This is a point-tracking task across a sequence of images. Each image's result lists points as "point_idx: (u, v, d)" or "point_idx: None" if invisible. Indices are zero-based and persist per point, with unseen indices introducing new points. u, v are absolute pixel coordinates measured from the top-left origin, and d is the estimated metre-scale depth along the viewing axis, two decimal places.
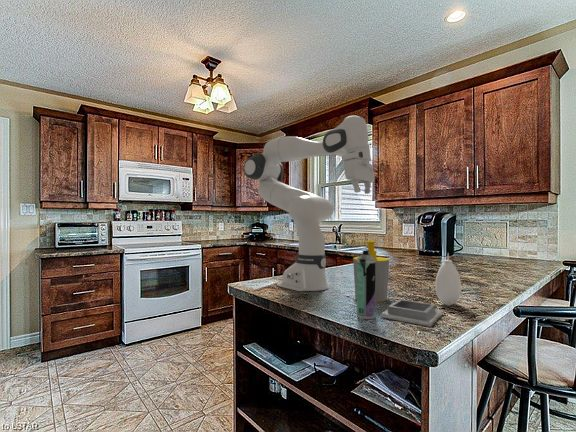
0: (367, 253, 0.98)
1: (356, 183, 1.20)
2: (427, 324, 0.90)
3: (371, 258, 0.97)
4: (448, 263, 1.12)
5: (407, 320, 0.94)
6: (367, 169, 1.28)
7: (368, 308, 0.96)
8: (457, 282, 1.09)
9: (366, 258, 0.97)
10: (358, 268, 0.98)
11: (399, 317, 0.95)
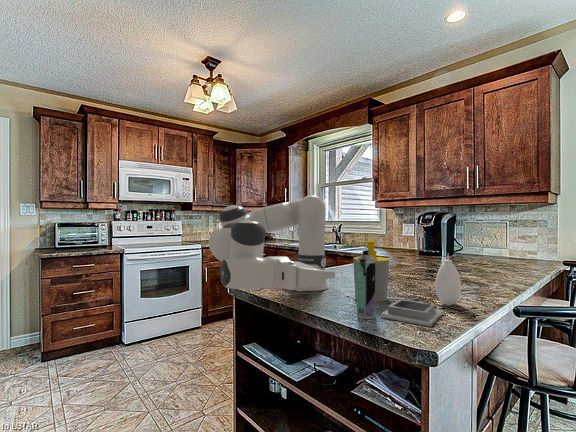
0: (367, 253, 0.98)
1: (325, 273, 0.88)
2: (427, 324, 0.90)
3: (371, 258, 0.97)
4: (448, 263, 1.12)
5: (407, 320, 0.94)
6: None
7: (368, 308, 0.96)
8: (457, 282, 1.09)
9: (366, 258, 0.97)
10: (358, 268, 0.98)
11: (399, 317, 0.95)
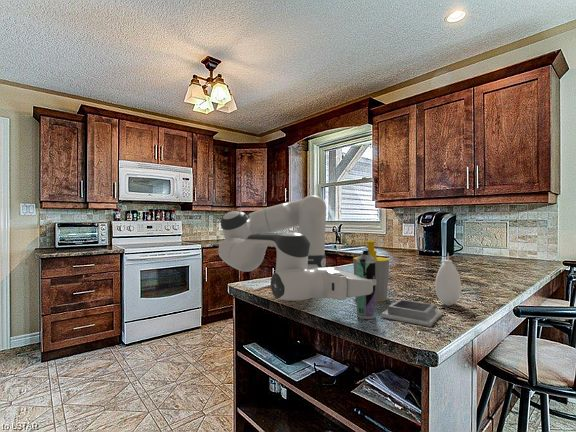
0: (367, 253, 0.98)
1: None
2: (427, 324, 0.90)
3: (371, 258, 0.97)
4: (448, 263, 1.12)
5: (407, 320, 0.94)
6: None
7: (368, 308, 0.96)
8: (457, 282, 1.09)
9: (366, 258, 0.97)
10: (358, 268, 0.98)
11: (399, 317, 0.95)
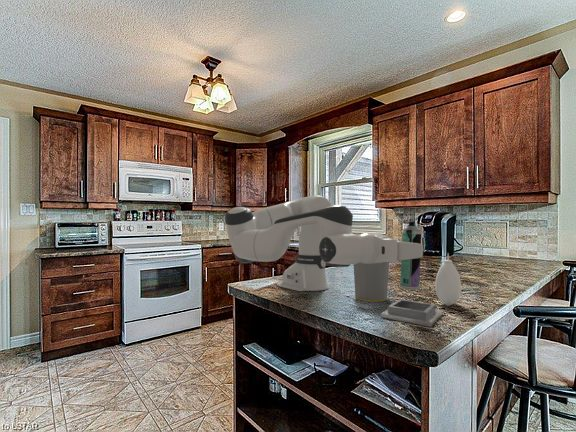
0: (413, 224, 0.99)
1: None
2: (427, 324, 0.90)
3: (417, 229, 0.98)
4: (448, 263, 1.12)
5: (407, 320, 0.94)
6: None
7: (413, 279, 0.97)
8: (457, 282, 1.09)
9: (412, 229, 0.98)
10: (404, 239, 0.99)
11: (399, 317, 0.95)
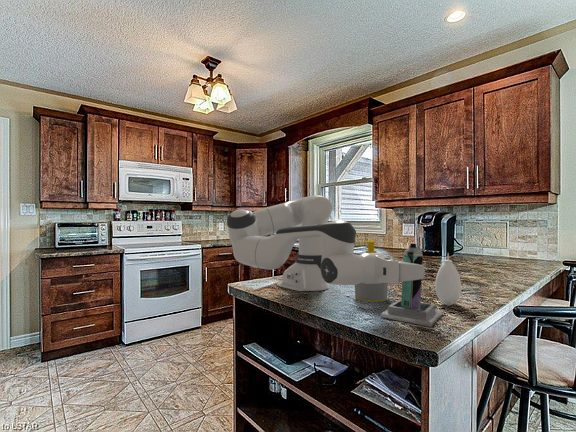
0: (415, 246, 0.99)
1: None
2: (427, 324, 0.90)
3: (419, 251, 0.98)
4: (448, 263, 1.12)
5: (407, 320, 0.94)
6: None
7: (414, 301, 0.97)
8: (457, 282, 1.09)
9: (414, 251, 0.98)
10: (405, 260, 0.99)
11: (399, 317, 0.95)
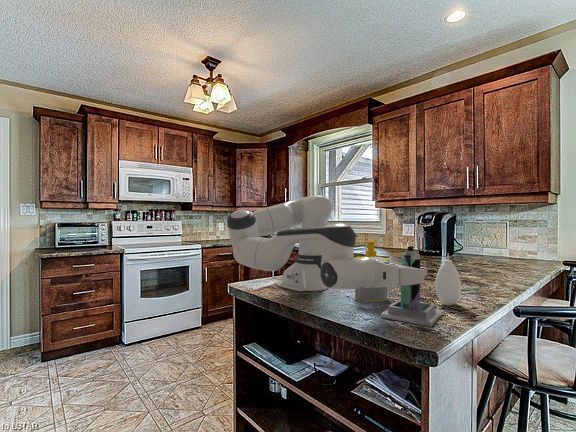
0: (412, 249, 0.98)
1: None
2: (427, 324, 0.90)
3: (416, 254, 0.97)
4: (448, 263, 1.12)
5: (407, 320, 0.94)
6: None
7: (413, 304, 0.97)
8: (457, 282, 1.09)
9: (411, 254, 0.97)
10: (403, 264, 0.98)
11: (399, 317, 0.95)
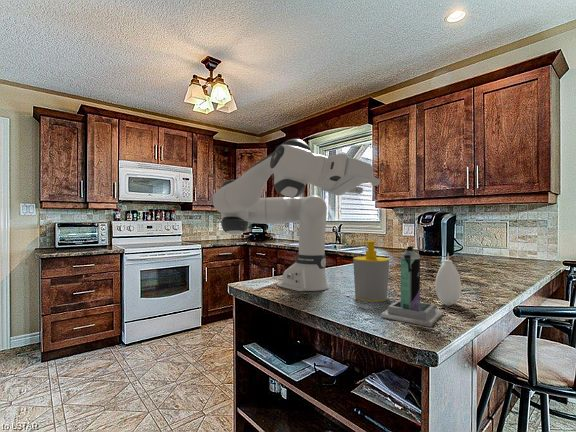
0: (411, 249, 0.99)
1: (372, 176, 0.90)
2: (427, 324, 0.90)
3: (416, 254, 0.97)
4: (448, 263, 1.12)
5: (407, 320, 0.94)
6: None
7: (413, 304, 0.97)
8: (457, 282, 1.09)
9: (411, 254, 0.97)
10: (402, 264, 0.99)
11: (399, 317, 0.95)
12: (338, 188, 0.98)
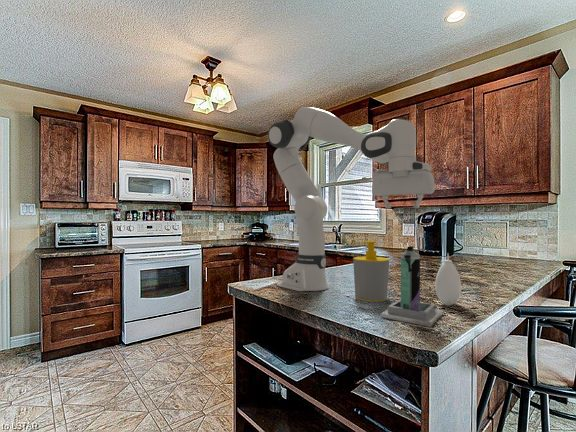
0: (412, 249, 0.99)
1: (421, 198, 1.07)
2: (427, 324, 0.90)
3: (416, 254, 0.97)
4: (448, 263, 1.12)
5: (407, 320, 0.94)
6: None
7: (413, 304, 0.97)
8: (457, 282, 1.09)
9: (411, 254, 0.97)
10: (402, 264, 0.99)
11: (399, 317, 0.95)
12: (389, 184, 1.12)
